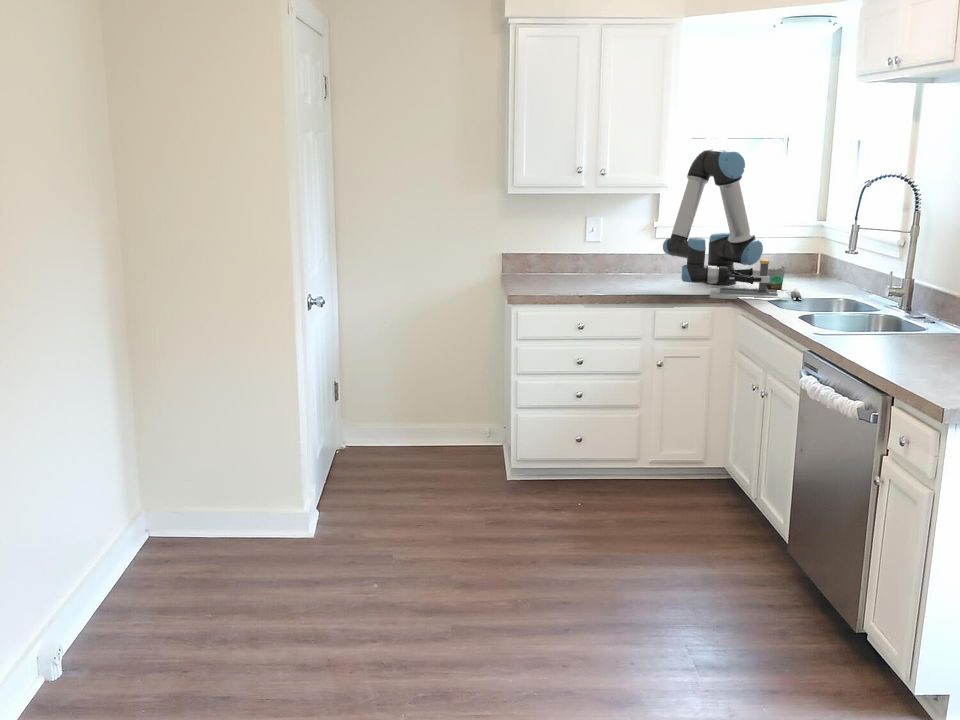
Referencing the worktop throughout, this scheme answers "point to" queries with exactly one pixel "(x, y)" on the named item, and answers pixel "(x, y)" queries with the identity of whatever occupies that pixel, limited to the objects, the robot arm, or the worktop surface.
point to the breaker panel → (744, 293)
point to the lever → (763, 272)
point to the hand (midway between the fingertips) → (769, 276)
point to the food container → (776, 278)
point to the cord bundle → (795, 294)
